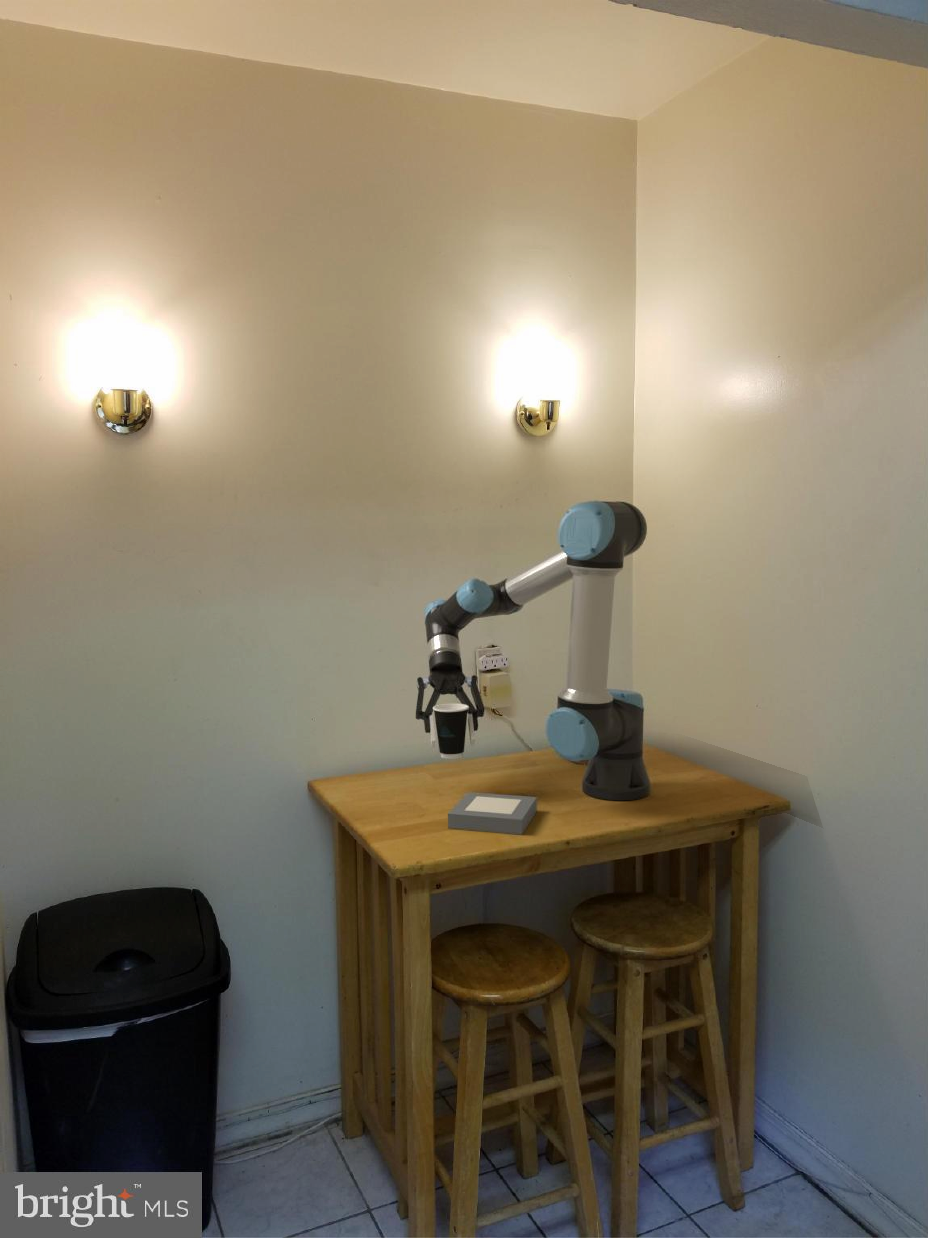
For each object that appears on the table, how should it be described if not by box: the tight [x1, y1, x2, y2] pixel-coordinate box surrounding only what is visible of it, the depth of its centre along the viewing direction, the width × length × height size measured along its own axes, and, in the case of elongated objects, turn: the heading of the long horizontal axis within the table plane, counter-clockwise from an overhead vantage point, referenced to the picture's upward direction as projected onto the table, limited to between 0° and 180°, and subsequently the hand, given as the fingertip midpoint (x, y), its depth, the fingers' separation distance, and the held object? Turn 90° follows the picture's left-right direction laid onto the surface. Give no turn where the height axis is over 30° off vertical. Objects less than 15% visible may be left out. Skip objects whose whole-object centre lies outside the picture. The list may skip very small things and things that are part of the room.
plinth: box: [447, 791, 538, 836], centre depth 189 cm, size 15×15×3 cm
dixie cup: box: [433, 703, 469, 760], centre depth 202 cm, size 8×8×11 cm
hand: (453, 743), depth 199 cm, fingers closed on dixie cup, 8 cm apart
